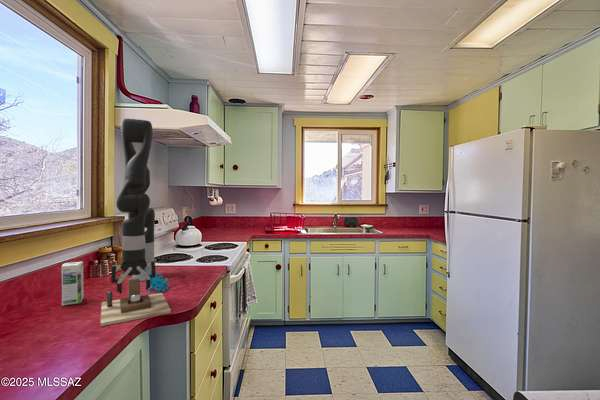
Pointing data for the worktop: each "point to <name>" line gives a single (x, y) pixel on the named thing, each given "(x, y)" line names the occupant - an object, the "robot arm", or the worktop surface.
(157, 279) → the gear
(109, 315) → the board
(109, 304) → the stop pin
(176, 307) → the worktop surface
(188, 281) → the worktop surface
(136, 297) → the post
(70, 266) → the syrup box
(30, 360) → the worktop surface
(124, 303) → the wooden display stand
